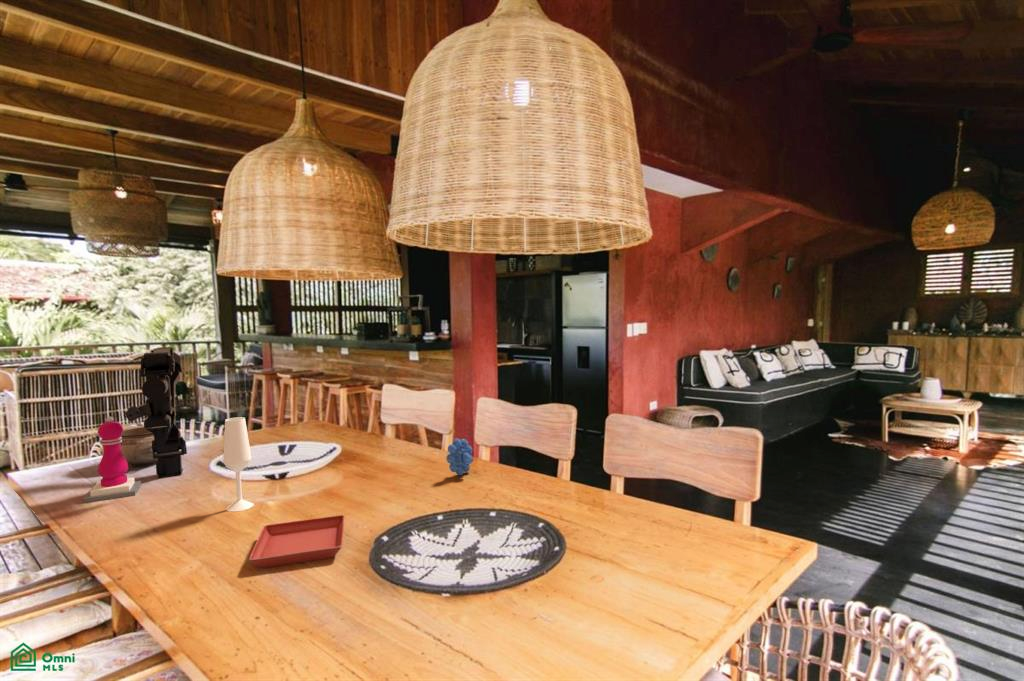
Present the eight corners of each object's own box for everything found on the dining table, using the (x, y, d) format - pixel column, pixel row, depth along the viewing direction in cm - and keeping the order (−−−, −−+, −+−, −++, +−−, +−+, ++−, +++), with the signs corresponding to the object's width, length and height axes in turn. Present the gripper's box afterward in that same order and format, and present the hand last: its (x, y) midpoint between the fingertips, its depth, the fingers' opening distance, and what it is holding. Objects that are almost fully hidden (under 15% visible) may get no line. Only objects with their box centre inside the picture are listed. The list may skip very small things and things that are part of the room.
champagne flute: (242, 512, 138) (237, 422, 137) (219, 510, 140) (214, 421, 138) (259, 502, 145) (254, 416, 144) (237, 501, 146) (233, 416, 145)
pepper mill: (103, 489, 151) (98, 420, 150) (95, 484, 155) (90, 417, 154) (132, 482, 156) (128, 415, 155) (124, 477, 161) (120, 413, 160)
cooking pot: (96, 465, 185) (93, 431, 184) (155, 452, 201) (153, 421, 200) (129, 476, 172) (126, 439, 171) (190, 461, 188) (188, 427, 187)
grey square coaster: (141, 484, 163) (140, 475, 163) (135, 495, 153) (134, 485, 153) (92, 491, 158) (92, 482, 157) (83, 503, 148) (82, 493, 148)
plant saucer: (248, 575, 106) (247, 559, 106) (264, 538, 123) (263, 524, 123) (343, 561, 111) (342, 546, 111) (345, 527, 128) (344, 514, 128)
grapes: (458, 482, 158) (457, 443, 157) (442, 479, 162) (440, 440, 161) (482, 472, 168) (481, 435, 167) (466, 469, 172) (465, 432, 171)
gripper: (131, 392, 163) (135, 442, 163) (120, 401, 146) (123, 456, 147) (174, 389, 168) (177, 437, 169) (167, 397, 151) (171, 450, 152)
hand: (162, 445), depth 159 cm, fingers open, 9 cm apart
